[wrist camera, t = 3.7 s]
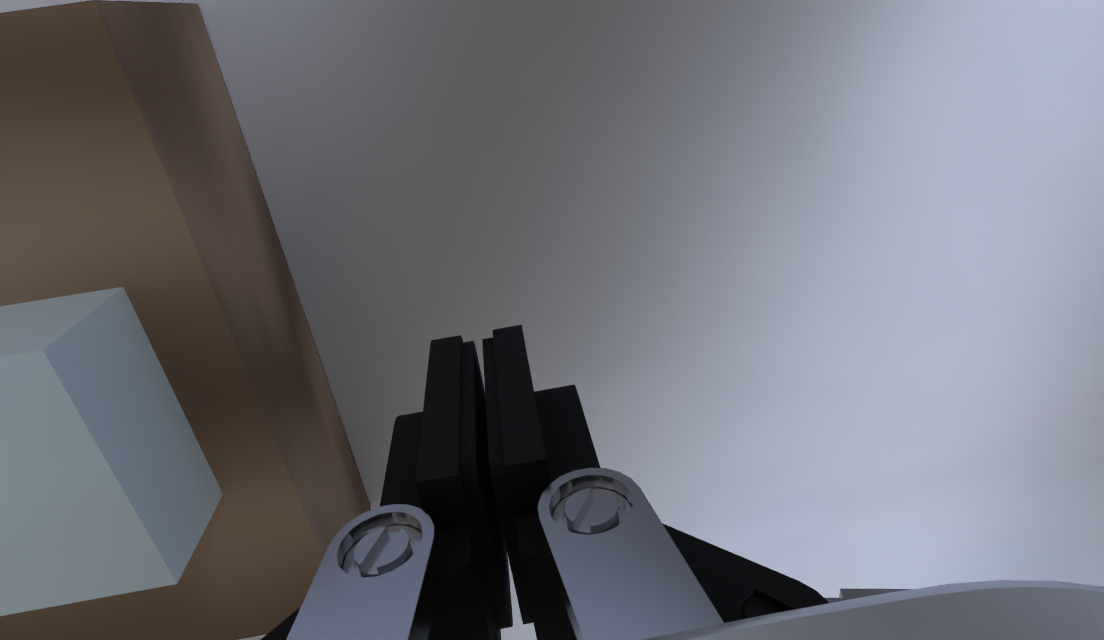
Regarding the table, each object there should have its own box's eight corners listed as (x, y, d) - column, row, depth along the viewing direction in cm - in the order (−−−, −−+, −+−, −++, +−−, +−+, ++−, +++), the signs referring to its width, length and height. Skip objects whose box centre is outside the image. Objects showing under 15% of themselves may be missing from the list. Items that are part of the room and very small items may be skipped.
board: (-413, 89, 12) (-769, 119, 9) (197, 3, 13) (94, 0, 9) (-29, 578, 19) (-146, 711, 15) (371, 507, 19) (347, 618, 16)
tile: (-162, 332, 11) (-313, 408, 9) (123, 287, 11) (42, 350, 9) (-13, 535, 13) (-104, 635, 11) (222, 494, 14) (176, 583, 11)
